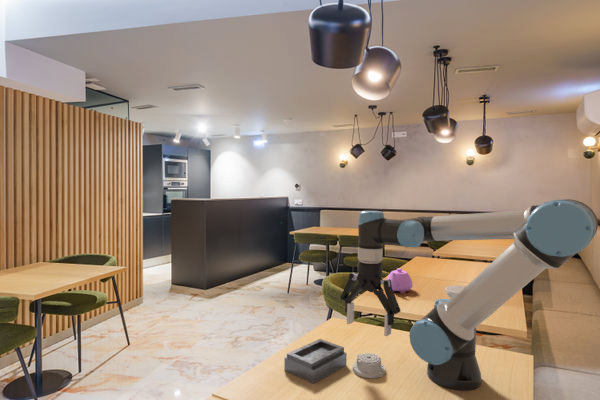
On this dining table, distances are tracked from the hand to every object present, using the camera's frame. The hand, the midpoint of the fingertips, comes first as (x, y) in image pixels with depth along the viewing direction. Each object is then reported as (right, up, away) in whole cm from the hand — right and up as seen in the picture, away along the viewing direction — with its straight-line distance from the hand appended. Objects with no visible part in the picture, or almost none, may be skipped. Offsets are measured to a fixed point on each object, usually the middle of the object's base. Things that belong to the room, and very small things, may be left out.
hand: (368, 328), depth 120 cm
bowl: (+58, -11, +69) cm, 91 cm away
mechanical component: (0, -14, 0) cm, 14 cm away
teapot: (+33, -10, +91) cm, 98 cm away
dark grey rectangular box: (-15, -13, +3) cm, 20 cm away
